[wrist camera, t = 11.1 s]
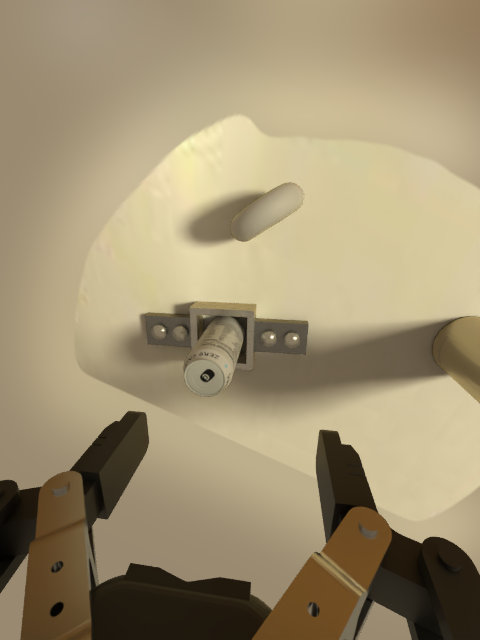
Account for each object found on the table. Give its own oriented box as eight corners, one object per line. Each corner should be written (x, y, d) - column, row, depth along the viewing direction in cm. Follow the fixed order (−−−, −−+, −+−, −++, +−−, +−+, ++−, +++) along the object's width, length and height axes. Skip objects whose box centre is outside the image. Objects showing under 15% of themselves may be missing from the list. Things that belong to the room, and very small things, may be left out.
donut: (293, 181, 39) (297, 169, 30) (305, 204, 40) (313, 200, 31) (231, 222, 42) (217, 224, 33) (244, 243, 43) (233, 251, 34)
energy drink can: (201, 330, 48) (168, 377, 34) (225, 306, 46) (202, 344, 32) (227, 355, 49) (206, 410, 35) (252, 332, 47) (241, 380, 33)
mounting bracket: (308, 306, 45) (311, 313, 41) (303, 363, 48) (305, 374, 45) (147, 299, 48) (138, 305, 44) (152, 352, 51) (144, 362, 48)
